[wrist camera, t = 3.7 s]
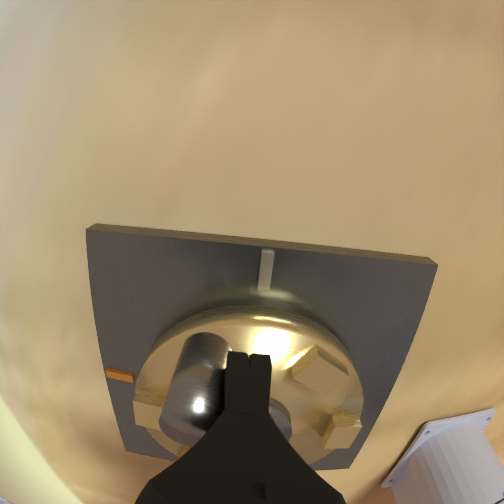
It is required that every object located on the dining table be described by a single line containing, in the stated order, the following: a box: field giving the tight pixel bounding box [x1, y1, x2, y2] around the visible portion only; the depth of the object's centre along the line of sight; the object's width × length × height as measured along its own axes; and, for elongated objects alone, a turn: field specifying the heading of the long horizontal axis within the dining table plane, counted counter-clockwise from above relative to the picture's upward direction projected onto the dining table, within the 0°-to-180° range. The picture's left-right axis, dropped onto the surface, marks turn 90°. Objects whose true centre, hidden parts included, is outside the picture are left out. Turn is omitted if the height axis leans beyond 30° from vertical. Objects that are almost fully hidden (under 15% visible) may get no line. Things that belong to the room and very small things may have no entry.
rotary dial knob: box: [133, 305, 363, 465], centre depth 12 cm, size 11×11×6 cm
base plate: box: [86, 224, 438, 470], centre depth 16 cm, size 16×16×1 cm
